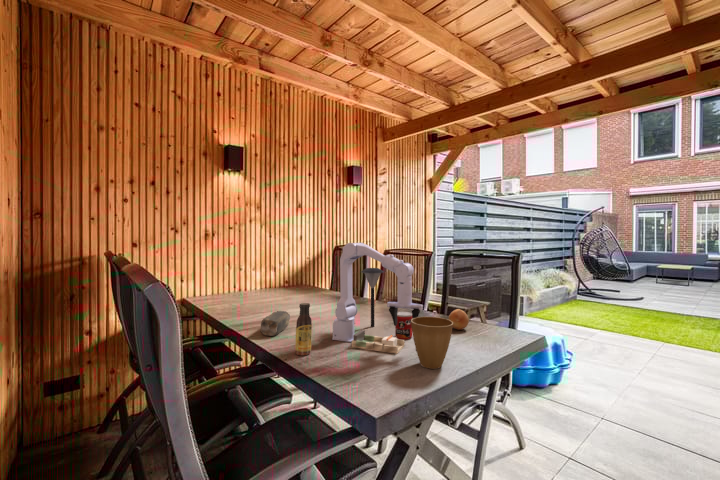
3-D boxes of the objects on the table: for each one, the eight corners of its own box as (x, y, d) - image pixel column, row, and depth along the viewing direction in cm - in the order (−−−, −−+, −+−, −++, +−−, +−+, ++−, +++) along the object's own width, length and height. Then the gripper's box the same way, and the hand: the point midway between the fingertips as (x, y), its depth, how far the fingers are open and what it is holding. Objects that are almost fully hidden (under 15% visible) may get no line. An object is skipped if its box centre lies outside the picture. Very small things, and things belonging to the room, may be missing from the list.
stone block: (289, 327, 176) (270, 326, 176) (290, 310, 176) (271, 309, 176) (280, 338, 156) (258, 336, 156) (281, 319, 156) (260, 317, 156)
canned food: (393, 338, 153) (393, 314, 153) (398, 334, 161) (398, 311, 160) (409, 340, 150) (409, 316, 150) (413, 335, 158) (414, 312, 158)
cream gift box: (381, 347, 139) (381, 338, 139) (386, 342, 144) (386, 334, 144) (392, 348, 137) (392, 339, 137) (397, 344, 142) (397, 335, 142)
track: (351, 346, 142) (351, 335, 142) (361, 340, 151) (361, 329, 151) (397, 353, 134) (397, 341, 134) (404, 346, 143) (404, 334, 143)
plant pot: (445, 376, 112) (445, 328, 112) (404, 367, 120) (404, 322, 120) (458, 362, 124) (458, 319, 124) (420, 355, 132) (420, 314, 132)
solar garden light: (358, 329, 169) (358, 269, 168) (362, 323, 181) (362, 267, 180) (383, 330, 167) (383, 269, 166) (385, 324, 179) (385, 267, 178)
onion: (445, 327, 173) (445, 307, 173) (463, 326, 174) (463, 307, 174) (452, 332, 163) (452, 311, 163) (472, 331, 164) (472, 311, 164)
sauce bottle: (298, 357, 130) (297, 305, 130) (293, 352, 135) (293, 303, 135) (314, 354, 133) (314, 304, 133) (308, 349, 138) (308, 301, 138)
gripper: (384, 293, 137) (384, 326, 137) (419, 295, 131) (419, 330, 131) (390, 290, 143) (390, 322, 143) (424, 292, 137) (424, 326, 137)
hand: (404, 326), depth 138 cm, fingers open, 7 cm apart
